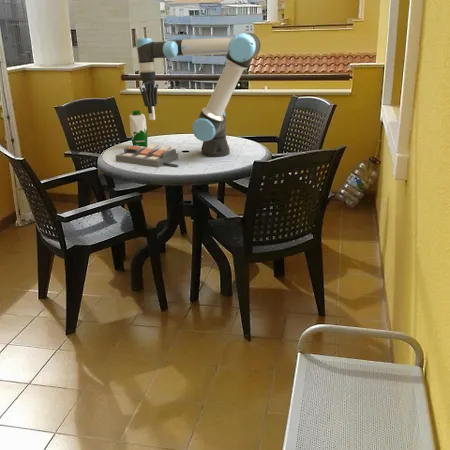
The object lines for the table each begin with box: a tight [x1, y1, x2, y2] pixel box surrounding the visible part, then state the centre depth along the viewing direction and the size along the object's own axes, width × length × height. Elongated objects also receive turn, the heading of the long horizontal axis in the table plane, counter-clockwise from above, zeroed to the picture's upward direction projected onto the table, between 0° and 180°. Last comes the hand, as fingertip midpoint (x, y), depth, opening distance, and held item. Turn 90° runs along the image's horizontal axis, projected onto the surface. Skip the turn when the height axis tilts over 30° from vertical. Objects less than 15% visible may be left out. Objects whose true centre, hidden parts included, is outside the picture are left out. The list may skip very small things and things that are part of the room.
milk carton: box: [129, 110, 148, 147], centre depth 294 cm, size 9×9×20 cm
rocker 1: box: [127, 145, 144, 150], centre depth 276 cm, size 4×10×1 cm, turn 149°
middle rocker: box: [140, 143, 160, 156], centre depth 272 cm, size 4×10×1 cm, turn 149°
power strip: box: [115, 145, 179, 168], centre depth 269 cm, size 36×17×5 cm, turn 59°
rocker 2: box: [153, 145, 172, 157], centre depth 268 cm, size 4×10×1 cm, turn 149°
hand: (152, 119), depth 268 cm, fingers closed
